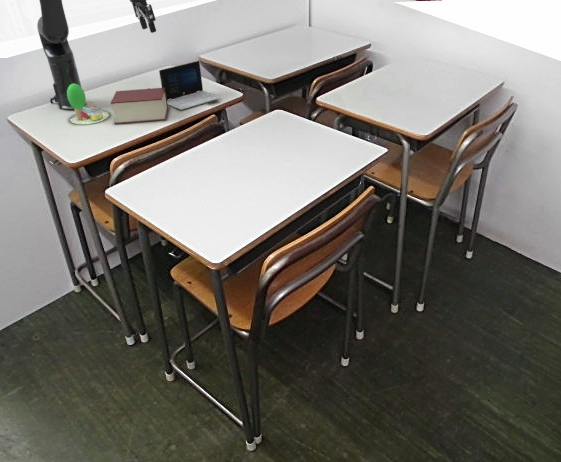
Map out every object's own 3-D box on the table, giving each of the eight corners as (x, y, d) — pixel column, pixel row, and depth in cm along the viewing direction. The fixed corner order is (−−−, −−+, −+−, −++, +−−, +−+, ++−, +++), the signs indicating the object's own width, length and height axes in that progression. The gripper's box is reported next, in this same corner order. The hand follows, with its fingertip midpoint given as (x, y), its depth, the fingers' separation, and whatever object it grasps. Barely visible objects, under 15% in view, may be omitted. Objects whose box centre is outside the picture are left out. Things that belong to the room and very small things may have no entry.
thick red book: (115, 124, 190) (110, 102, 185) (120, 111, 201) (116, 91, 196) (165, 120, 191) (161, 98, 187) (168, 108, 202) (164, 87, 197)
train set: (106, 81, 188) (68, 90, 181) (115, 117, 195) (78, 127, 189) (91, 73, 198) (54, 81, 191) (99, 107, 206) (64, 117, 199)
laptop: (180, 111, 198) (175, 76, 191) (164, 103, 206) (158, 70, 199) (220, 99, 207) (216, 66, 200) (203, 92, 216) (198, 60, 209)
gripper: (120, -12, 203) (134, 30, 213) (134, -9, 193) (148, 36, 203) (137, -18, 206) (150, 25, 216) (152, -14, 196) (165, 30, 206)
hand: (149, 30), depth 209 cm, fingers open, 8 cm apart
